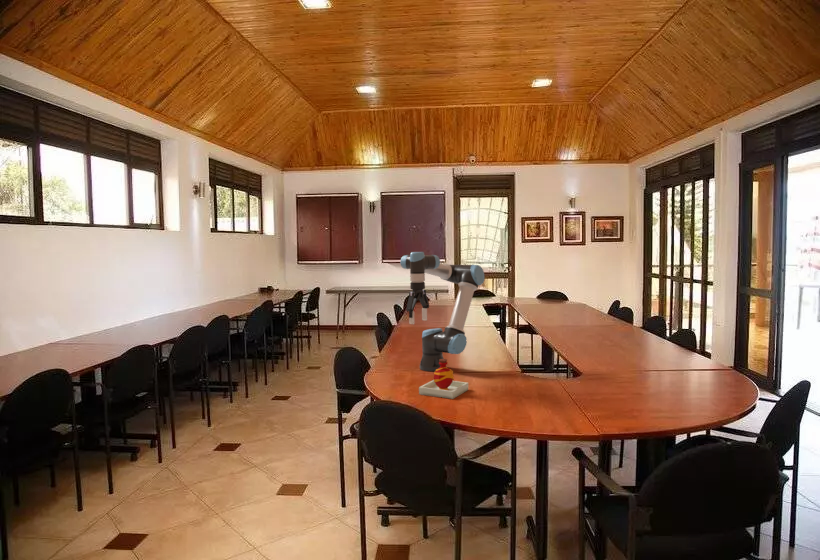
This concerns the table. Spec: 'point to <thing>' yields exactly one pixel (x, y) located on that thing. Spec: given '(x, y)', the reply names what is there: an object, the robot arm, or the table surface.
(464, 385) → the bin
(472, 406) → the table surface
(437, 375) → the potion bottle
